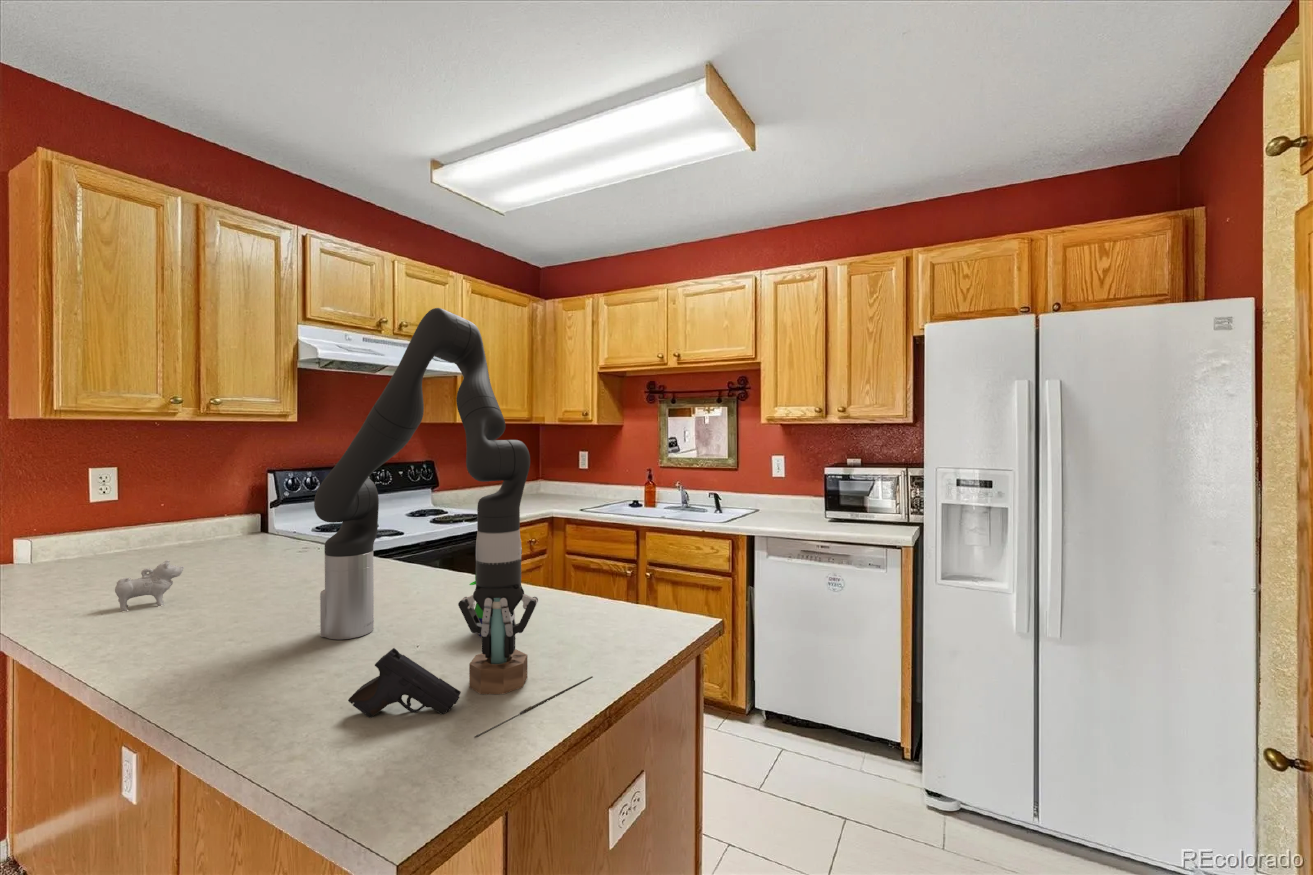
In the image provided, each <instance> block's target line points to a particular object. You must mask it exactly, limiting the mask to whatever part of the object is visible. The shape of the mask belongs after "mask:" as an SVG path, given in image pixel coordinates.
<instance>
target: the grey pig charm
mask: <svg viewBox="0 0 1313 875" xmlns="http://www.w3.org/2000/svg"><path fill="white" fill-rule="evenodd" d="M183 571H184V565H181V566H179V565H174V564H171V563H170V560H169V559H166V560H164V561H163V562H162V563H160V564H158V565H157V566H156V567H155V568H154V569H152V568H148V567H147V568H144V569H142V570H141V572H140V574H141V577H140V578H133V579H131V578H130V577H123V578H120V579H119V580H117V582H116V586H115V588H114V593H115V595H116V596H117V598H118V600H117V601H118V602H119V608H120V612H122V611H126V612H128V611H127V610H129V609H128V608H129V607H128V606H129V604H128V601H129V600H130V599H134V598H137V597H143V596H153V597H154V599H155V600H156V601H155V602H156V605H157V607H158V606H161V605H164V606H165V603H164V602H165V600H163V598H164V594H165V593H166V592H167V591H168V590H170V588H171V587H172V586H173V584H174V582H173V580H172V579H175V578H178V577H180V576H182V573H183ZM161 607H162V606H161ZM122 613H123V612H122Z"/></svg>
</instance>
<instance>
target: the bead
mask: <svg viewBox="0 0 1313 875" xmlns="http://www.w3.org/2000/svg"><path fill="white" fill-rule="evenodd" d="M468 666H469V674H468V675H469V678H468V679H469V682H468V684H469V688H470V689H472V690H473V691H475V692H476V693H478V694H480V695H505V694H507V693H510V692H513V691H516V690H519V689H521V688H523V687H524V685H525V684H526V682H527V679H528V654H527V653H525V652H523V651H520V650H518V649H516V648H515V650H514V652H513V654H511V656H510V658H507V662H506V663H503V664H491V657H490V658H485V654H483V653H482V652H480V653H478V654H475V656H473V658H472V660H471V661H470V662H469V665H468Z"/></svg>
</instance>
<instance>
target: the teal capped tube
mask: <svg viewBox="0 0 1313 875" xmlns="http://www.w3.org/2000/svg"><path fill="white" fill-rule="evenodd" d="M492 609H493V614H492V617H491V664H503V663H506V662H507V658H505V636H506V630H505V624H504V622H503V616H502V614H501V606H500V598H494V602H493V604H492Z"/></svg>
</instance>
